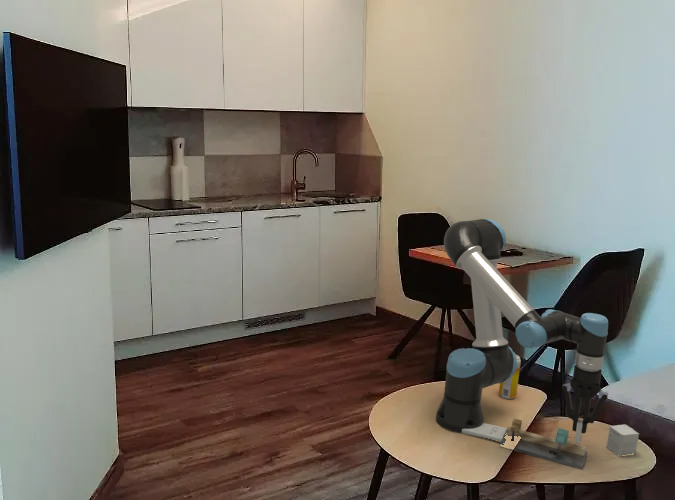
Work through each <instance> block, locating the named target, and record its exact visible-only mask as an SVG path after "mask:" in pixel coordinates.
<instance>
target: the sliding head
mask: <svg viewBox="0 0 675 500" xmlns="http://www.w3.org/2000/svg"><path fill="white" fill-rule="evenodd" d="M569 431H570V430H568V429H564V428H560V427H558V428H557V431H556V436H555V439H556V442H557V443H559V445H558V451H557V453H560V448H561V444H565V445H566V443H567V442H568V438H569V433H570V432H569Z"/></svg>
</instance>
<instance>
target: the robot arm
mask: <svg viewBox="0 0 675 500" xmlns="http://www.w3.org/2000/svg"><path fill="white" fill-rule="evenodd" d="M506 242H507V237H506V232H505V230H504V228H503V226H502V225H501V224H500V223H498V222H497V221H496V220H494V219H490V218H489V219H488V218H480V219H473V220H472V219H471V220H461V221H457V222H455V223H453V224H451V226H450V227H448V228H447V230H446V232H445V235H444V238H443V245H444V250H445V252H446V254H447V256H448V258H449V259H450V261H451V262H452V264H453V265H454V266H455V267H456V268H457V269H459V270H463V271H464V272H465V274H467V276H468V277H469V278H470V283H471V294H472V303H473V316H474V323H475V324H474V326H475V337H476V338H475V340H474V341H473V342H472V345H471V346H472V348H471V347H470V348H469V347H467V348H464V347H462V348H458V349H455V350H453V351H452V352H451V353H450V354H449V355H448V359H447V363H446V372H445V382H444V383H445V384H444V390H443V391H444V393H443V398H442V400H441V402H440V404H439V406H438V408H437V410H436V415H435V420H436V421H435V422H437V424H438V425H439V426H440V427H442V428H444V429H445V430H448V431H451V432H455V433H460V434H463V433H462V429H473V428H477V427H480V426H481V425H482V424H483V423H485V416H484V413H483V408H482V404H481V403H482V392H483V389H486V388H487V387H488V388H489V387H491V386H494V385H497V384H500V383H502V382H504V381H506V380H507V379H509V378H511V377H512V376H513V375H514V373H515V371H516V368H517V358H516V355H517V354H516V353H515V351H513V349H512V348H511V347H510V345H509V341H508V340H507V339H506V338H504V332H503V324H502V322H503V321H502V315H504V317H505V318H506V319H507V320H508V322H510V324H511V325H512V326H513V327H514V328H515V337H516V339H517V342H518V343H519V344H520V346H522V347H524V348H525V349H526V348H527V349H533V348H539V347H542V346H543V345H547V344H549V343H550V344H551V343H553V342H556V341H559V340H560V341H561V340H565V341H568V342H571V343H574V344H576V351H575V352H576V353H575V361H574V364H575V365H574V366H573V373H572V374H573V375H572V378H571V380H570V382H568V383H563V384H562V386H561V390H562V392H563V394H564V400H565V408H566V415H567V416H566V417H567V418H568V419H571V420H572V421H573V422H572V431H573V432H575V435H574V443H573V444H576V445H581V444H580V443H581V441H582V436H583V434H586V432H587V428H588V424H594V422H595V420H596V419H597V416H598V413H599V412H600V409H601V408H602V405H603V403H604V402H605V401H606V400H607V399H608V397H609V393H608V392H606V391H604V390H602V386H601V379H602V369H603V365H604V360H605V359H604V358H605V349H606V344H607V336H608V334H609V332H608V331H609V320H608V318H607V317H606V316H605V315H602V314H600V313H599V314H598V313H593V312H586V313H583V314H582V315H581V317H578V316H576V315H572V314H570V313H569V314H568V313H566V312H563V311H561V310H555V309H551V308H550V309H547V310H545V311H544V312H543V313H542V314H541V316H540V315H539V314H538V312H537V311H536V310H535V309H534V308H533V307H532V306H531V305H530V304H529V303H528V302H527V300H526V299H524V298H523V296H522V295H521V294H520V292H519V291H517V290H516V288H514V287H513V285H512V284H511V283H510V282H509V281H508V280H507V279H506V278H505V277H504V275H503V274H502V273H501V272H500V271H499V270H498V269H497V268H498V267H497V265H498V263H499V261H501V259H502V258H501V252H502V251H503V250H504V247H505V246H506ZM571 389H572V390H573V393H574V395H576V399H575V407H574V410H573V403H572V396H571V395H572V394H571ZM597 394H598V400H597V402H596V404H595V406H594V409H593V411H592V413H591V416H589V415H590V408H591V400H592V399H593V398H594V397H596V396H597ZM582 398H584V399H585V404H584V409H583V410H584V411H583V417H582V419H579V418H580V411H581V405H582V404H581V403H582ZM573 411H574V412H573Z"/></svg>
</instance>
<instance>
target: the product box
mask: <svg viewBox="0 0 675 500" xmlns="http://www.w3.org/2000/svg"><path fill="white" fill-rule="evenodd" d="M608 431H609V432H608V436H607V441H606V442H607V443H606V448H607V449H608V450H609V451H611V452H612V451H613V452H614V453H613V454H615V455H616V454H617V455H619V456H622V455H627V454H632V453H635V454H636V453H637V446H638V441H639V436H640V433H639V432H637V431H636V430H634V428H632V427H630V426H629V425H627V424H625V423H624V424H617V425H610V426H609V430H608ZM617 455H616V456H617Z"/></svg>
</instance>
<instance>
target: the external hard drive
mask: <svg viewBox="0 0 675 500" xmlns="http://www.w3.org/2000/svg"><path fill="white" fill-rule="evenodd" d="M507 429H508V427H502V426H499V425H495V424H490V423H486V422H484V423H483V424H482V425H481V426H480V427H477V428H473V429H462V433H461V434H464V435H469V436H473V437H477V436H478V437H477V438H481V437H484V438H483V439H485V438H488V439H487V440H489V439H493V440H497V441H502V439H503V437H504V435H505V433H506V431H507ZM493 440H492V441H493ZM497 441H496V442H497Z"/></svg>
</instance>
